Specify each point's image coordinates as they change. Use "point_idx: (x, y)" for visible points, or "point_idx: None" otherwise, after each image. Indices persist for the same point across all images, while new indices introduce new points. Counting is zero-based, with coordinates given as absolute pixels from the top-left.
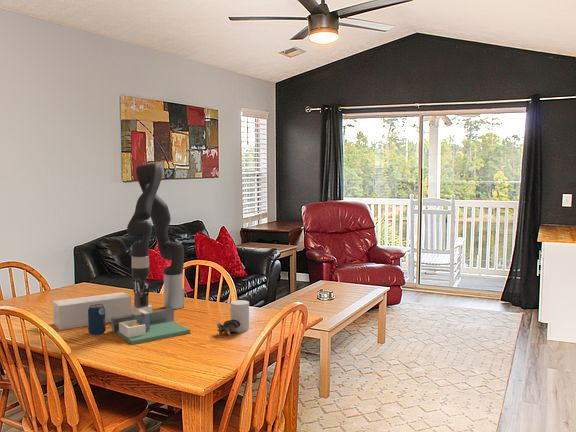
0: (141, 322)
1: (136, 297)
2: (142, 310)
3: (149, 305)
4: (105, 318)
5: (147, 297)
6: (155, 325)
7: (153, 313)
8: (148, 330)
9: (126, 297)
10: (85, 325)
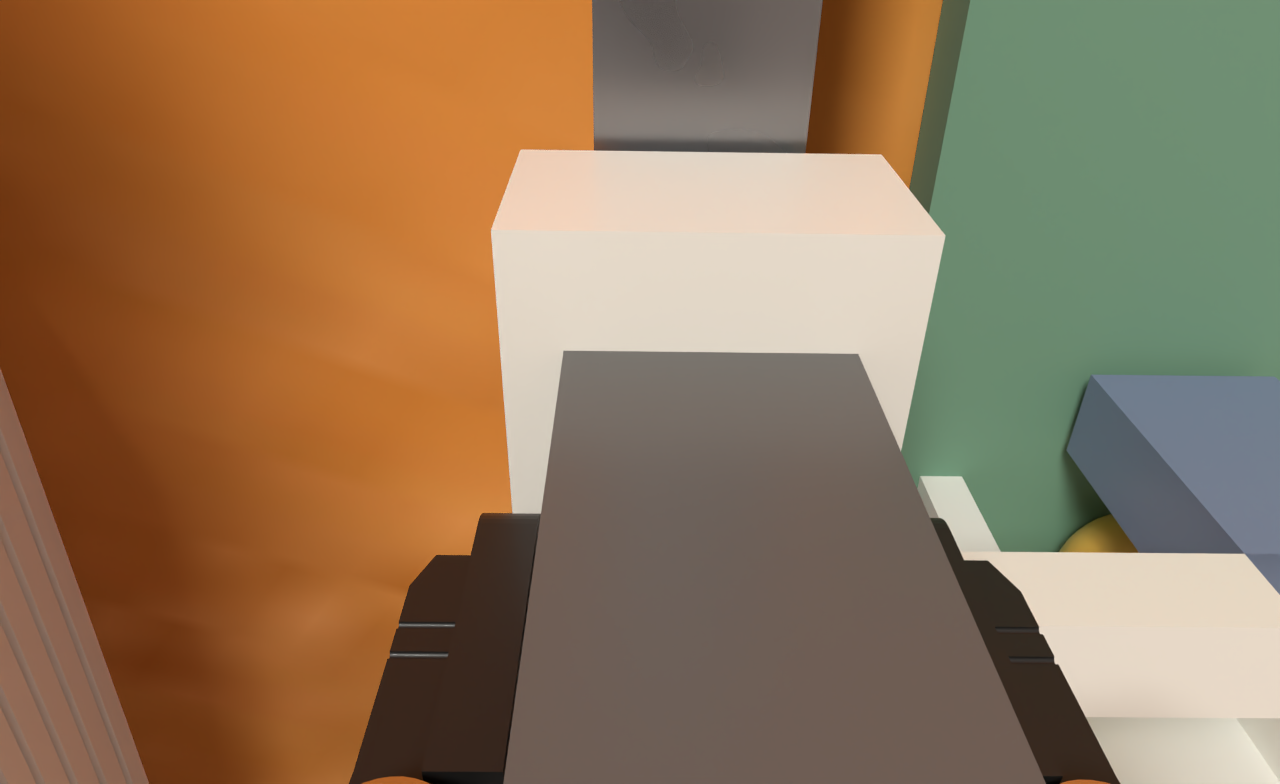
0: (1128, 528)
1: None
2: (1162, 653)
3: (792, 283)
4: (33, 630)
5: (951, 625)
6: (1029, 104)
7: (809, 69)
8: (1197, 362)
9: None
10: (146, 781)
